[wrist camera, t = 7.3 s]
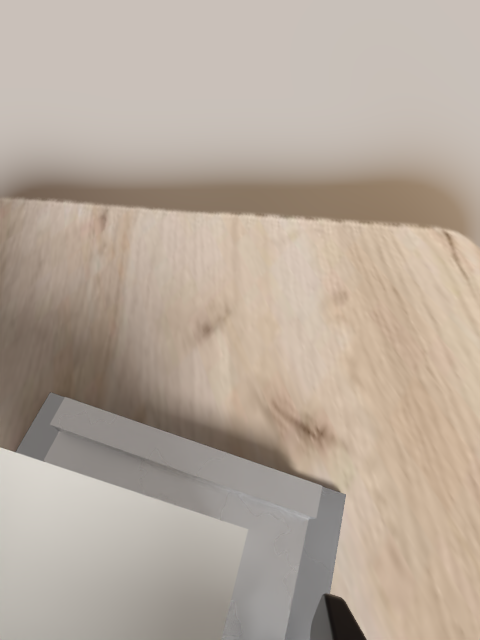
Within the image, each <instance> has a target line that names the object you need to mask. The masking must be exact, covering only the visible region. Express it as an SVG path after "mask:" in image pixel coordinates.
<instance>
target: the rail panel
mask: <svg viewBox="0 0 480 640" xmlns="http://www.w3.org/2000/svg"><path fill="white" fill-rule="evenodd" d="M16 453H19V454H22V455H25V456H28V457H31V458H34V459H37V460H40V461H43V462H46V463H49V464H52V465H55V466H58V467H61V468H64V469H67V470H70V471H73V472H76V473H79V474H82V475H85V476H88V477H92V478H95V479H98V480H101V481H104V482H107V483H110V484H113V485H116V486H119V487H122V488H125V489H128V490H131V491H134V492H137V493H140V494H143V495H146V496H149V497H152V498H155V499H158V500H161V501H164V502H167V503H170V504H173V505H176V506H179V507H182V508H185V509H188V510H191V511H194V512H197V513H200V514H203V515H207V516H210V517H213V518H216V519H219V520H222V521H225V522H228V523H231V524H234V525H237V526H240V527H243V528H246V529H248V533H247V537H246V541H245V545H244V549H243V553H242V557H241V561H240V565H239V569H238V573H237V577H236V582H235V586H234V590H233V594H232V598H231V602H230V606H229V610H228V614H227V618H226V622H225V626H224V630H223V635H222V639H221V640H310V630H311V624H312V620H313V617H314V614H315V612H316V609H317V607H318V604H319V601H320V599H321V597H322V595H323V594H325V593H327V594H330V590H331V583H332V577H333V571H334V565H335V559H336V553H337V547H338V540H339V534H340V528H341V522H342V516H343V510H344V504H345V497H346V494H343V493H340V492H337V491H334V490H331V489H328V488H325V487H322V485H319V484H316V483H313V482H310V481H307V480H304V479H301V478H299V477H296V476H293V475H290V474H287V473H284V472H281V471H278V470H275V469H273V468H270V467H267V466H264V465H261V464H258V463H255V462H252V461H249V460H247V459H244V458H241V457H238V456H235V455H232V454H229V453H226V452H223V451H221V450H218V449H215V448H212V447H209V446H206V445H203V444H200V443H197V442H194V441H192V440H189V439H186V438H183V437H180V436H177V435H174V434H171V433H168V432H166V431H163V430H160V429H157V428H154V427H151V426H148V425H145V424H142V423H140V422H137V421H134V420H131V419H128V418H125V417H122V416H119V415H116V414H114V413H111V412H108V411H105V410H102V409H99V408H96V407H93V406H90V405H88V404H85V403H82V402H79V401H76V400H73V399H70V398H67V397H62V396H60V395H57V394H54V393H51V392H50V394H49V395H48V397H47V399H46V401H45V402H44V404H43V406H42V407H41V409H40V411H39V413H38V414H37V416H36V418H35V419H34V421H33V423H32V425H31V426H30V428H29V430H28V431H27V433H26V435H25V437H24V438H23V440H22V442H21V444H20V445H19V447H18V449H17V450H16Z"/></svg>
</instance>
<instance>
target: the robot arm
mask: <svg viewBox="0 0 480 640" xmlns="http://www.w3.org/2000/svg"><path fill="white" fill-rule="evenodd" d="M310 640H367V639H366V638H365V636H364V634H363V632H362V631H361V629H360V627H359V625H358V623H357V622H356V620H355V618H354V616H353V615H352V613H351V611H350V609H349V607H348V606H347V604H346V602H345V601H344V600H343V599H342V598H341V597H338V596H335V595H331V594H327V593H325V594H323V595H322V597H321V599H320V601H319V604H318V607H317V609H316V612H315V614H314V617H313V620H312V624H311V630H310Z"/></svg>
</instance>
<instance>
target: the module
mask: <svg viewBox="0 0 480 640" xmlns="http://www.w3.org/2000/svg"><path fill="white" fill-rule="evenodd" d="M247 533H248V529H246V528H243V527H240V526H237V525H234V524H231V523H228V522H225V521H222V520H219V519H216V518H213V517H210V516H207V515H203V514H200V513H197V512H194V511H191V510H188V509H185V508H182V507H179V506H176V505H173V504H170V503H167V502H164V501H161V500H158V499H155V498H152V497H149V496H146V495H143V494H140V493H137V492H134V491H131V490H128V489H125V488H122V487H119V486H116V485H113V484H110V483H107V482H104V481H101V480H98V479H95V478H92V477H88V476H85V475H82V474H79V473H76V472H73V471H70V470H67V469H64V468H61V467H58V466H55V465H52V464H49V463H46V462H43V461H40V460H37V459H34V458H31V457H28V456H25V455H22V454H19V453H16V452H13V451H10V450H7V449H4V448H1V447H0V640H221V639H222V635H223V630H224V626H225V622H226V618H227V614H228V610H229V606H230V602H231V598H232V594H233V590H234V586H235V582H236V577H237V573H238V569H239V565H240V561H241V557H242V553H243V549H244V545H245V541H246V537H247Z"/></svg>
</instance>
